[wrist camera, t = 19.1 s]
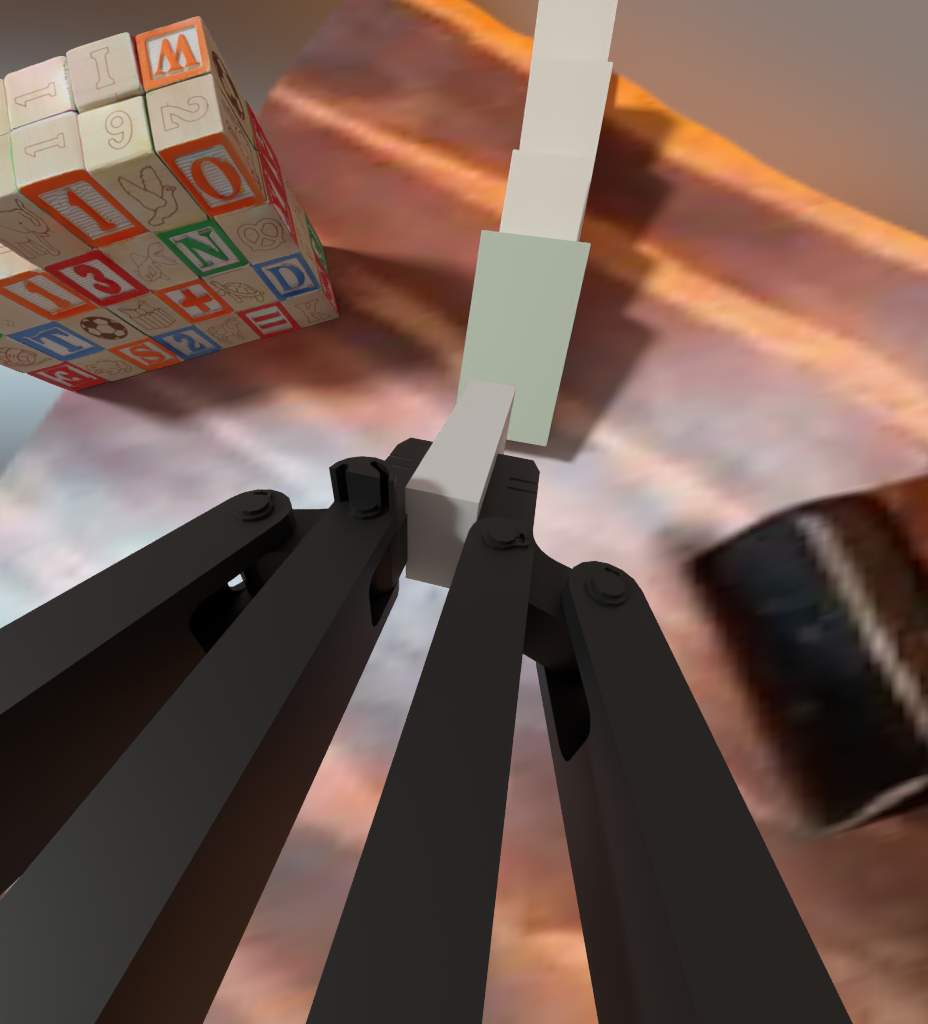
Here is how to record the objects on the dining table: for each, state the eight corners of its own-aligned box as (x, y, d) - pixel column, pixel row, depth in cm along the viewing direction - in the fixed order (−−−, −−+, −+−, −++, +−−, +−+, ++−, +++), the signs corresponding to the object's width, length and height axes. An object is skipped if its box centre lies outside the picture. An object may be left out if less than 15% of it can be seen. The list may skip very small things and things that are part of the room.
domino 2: (571, 281, 24) (613, 62, 21) (501, 274, 24) (532, 57, 21) (567, 290, 26) (605, 90, 23) (502, 283, 26) (530, 86, 23)
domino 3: (548, 367, 24) (594, 158, 20) (478, 355, 24) (513, 149, 21) (546, 370, 25) (588, 180, 22) (481, 359, 26) (513, 171, 23)
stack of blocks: (74, 396, 28) (-248, 274, 16) (65, 322, 29) (-249, 152, 17) (342, 317, 27) (222, 125, 15) (325, 244, 28) (197, 4, 16)
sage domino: (546, 446, 23) (591, 243, 20) (452, 430, 23) (481, 230, 20) (544, 443, 25) (584, 258, 22) (457, 428, 25) (485, 245, 22)
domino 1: (582, 211, 25) (620, -14, 21) (513, 206, 25) (540, -15, 22) (576, 225, 26) (611, 21, 23) (513, 220, 27) (538, 19, 24)
